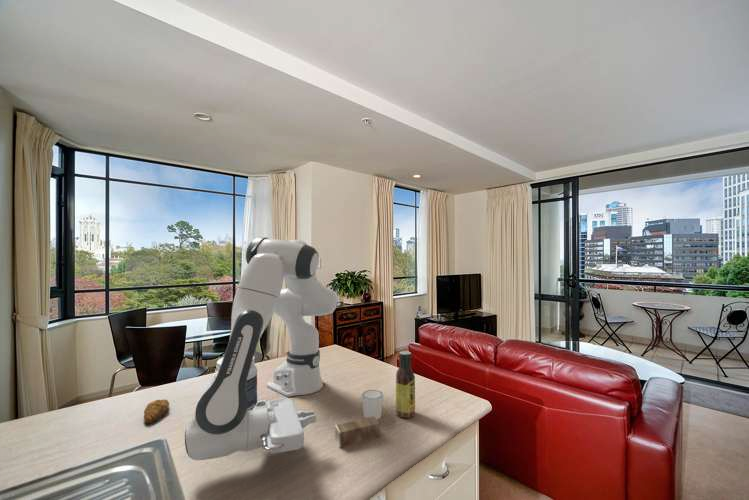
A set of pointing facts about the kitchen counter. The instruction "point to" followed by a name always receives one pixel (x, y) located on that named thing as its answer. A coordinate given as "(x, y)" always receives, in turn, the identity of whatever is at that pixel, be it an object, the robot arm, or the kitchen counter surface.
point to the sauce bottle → (405, 387)
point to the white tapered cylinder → (372, 403)
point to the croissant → (155, 410)
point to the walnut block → (357, 431)
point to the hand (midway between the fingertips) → (315, 416)
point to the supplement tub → (247, 384)
